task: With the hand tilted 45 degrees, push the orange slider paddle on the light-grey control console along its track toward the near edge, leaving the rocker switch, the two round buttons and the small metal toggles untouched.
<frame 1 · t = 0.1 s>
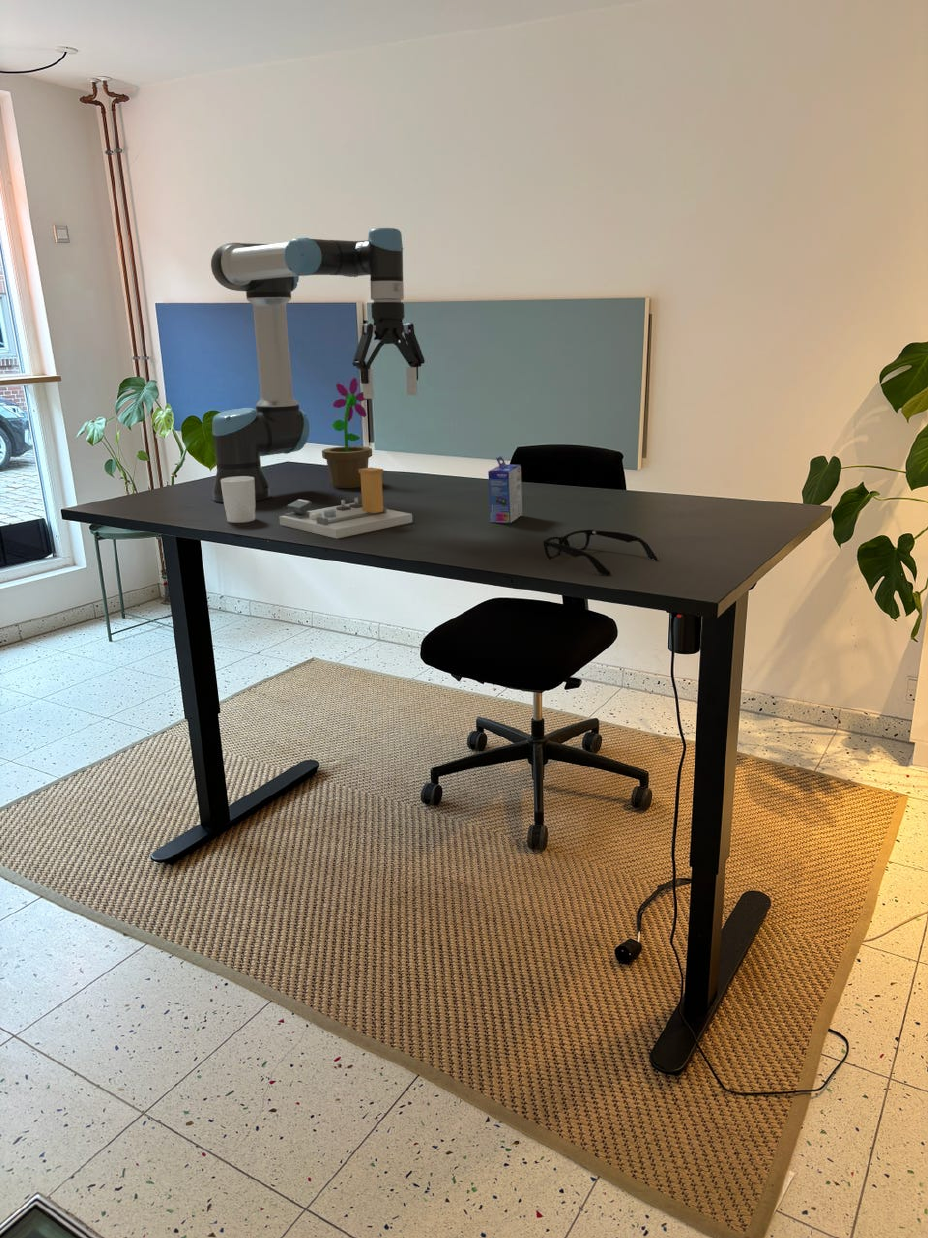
hand: (390, 396, 216), 28 cm above the table, fingers open, 13 cm apart
flowerpot: (349, 485, 267), on the table
glasses: (596, 563, 178), on the table
white cup: (241, 520, 221), on the table
console: (346, 523, 215), on the table
rocker: (300, 505, 214), point 4 cm above the table, hinge at 15.0°
ink cartridge box: (505, 519, 216), on the table
slider paddle: (371, 490, 213), point 8 cm above the table, slide at 0.0 cm
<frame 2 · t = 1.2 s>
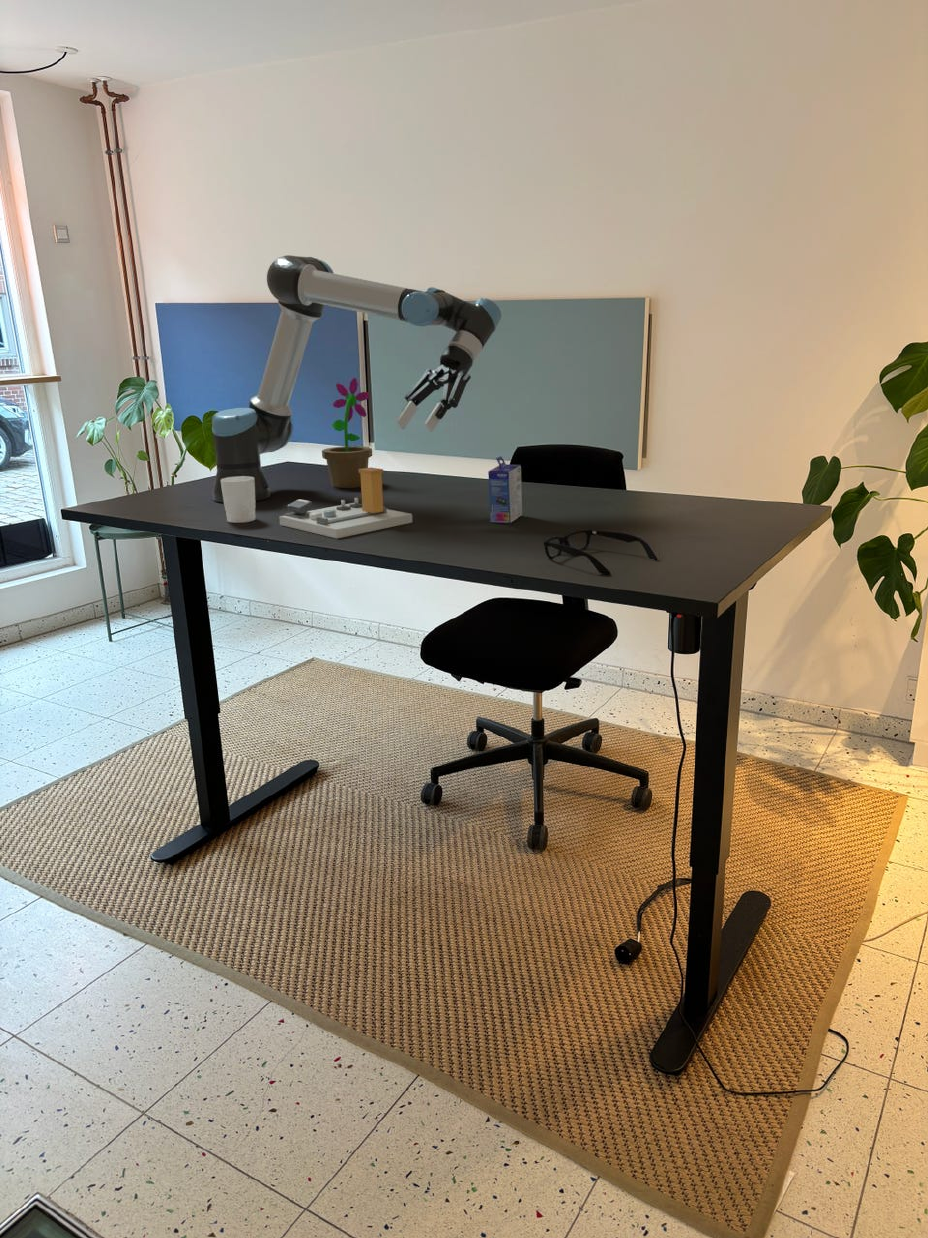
hand: (414, 426, 218), 21 cm above the table, fingers open, 9 cm apart
nothing on the table moved.
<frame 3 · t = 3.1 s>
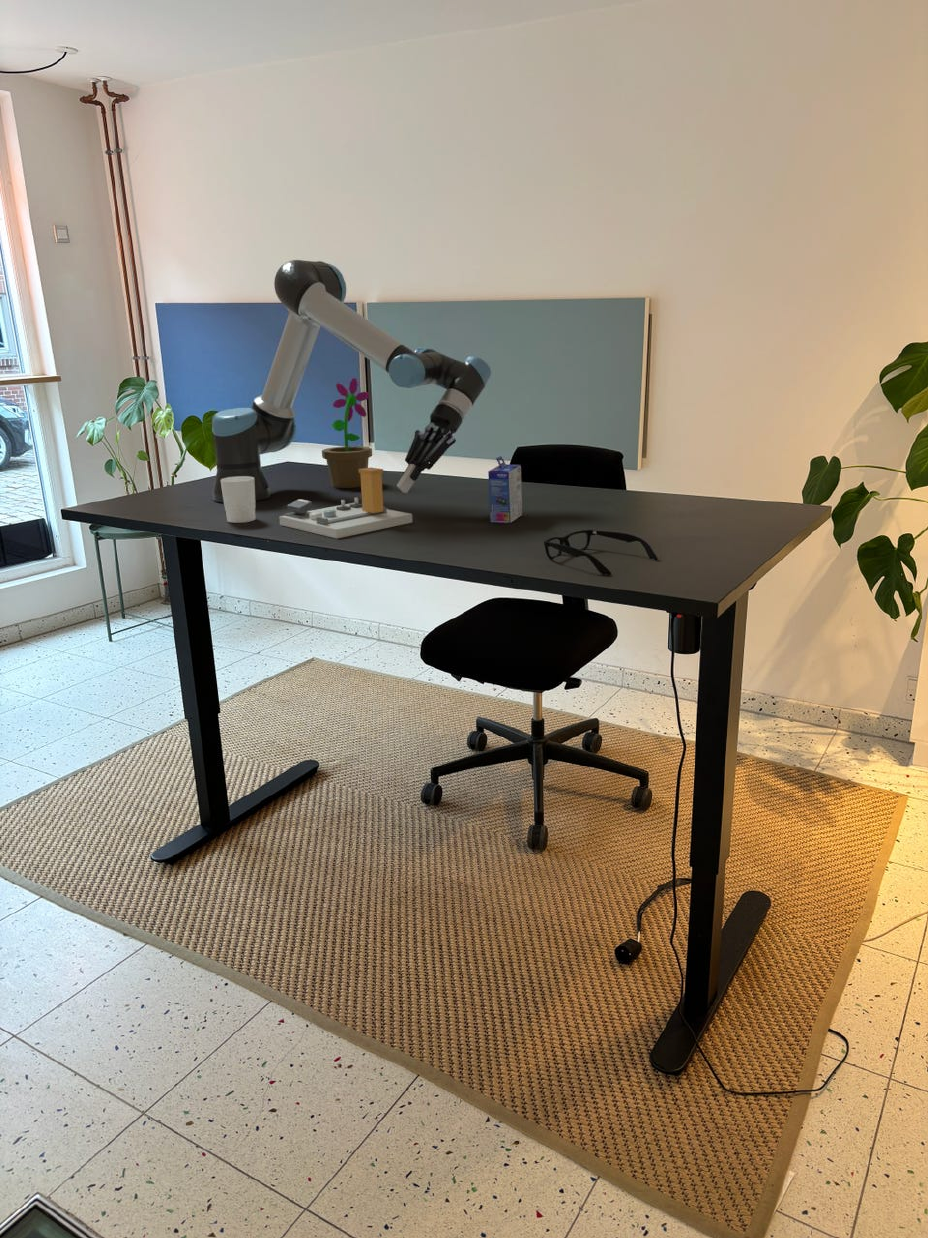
hand: (401, 489, 219), 7 cm above the table, fingers closed
nothing on the table moved.
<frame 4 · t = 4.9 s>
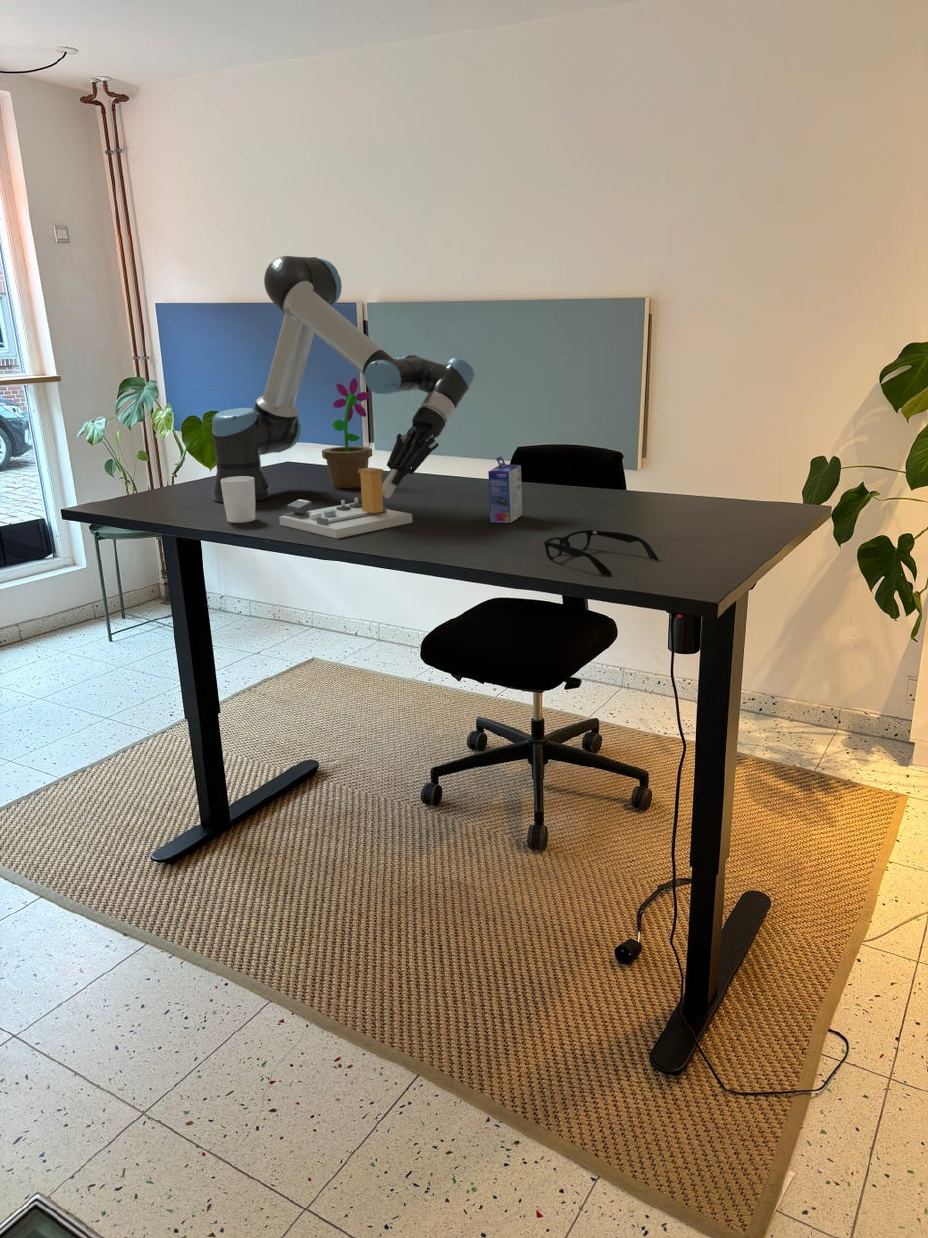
hand: (383, 494, 215), 6 cm above the table, fingers closed
slider paddle: (371, 490, 213), point 8 cm above the table, slide at 0.0 cm, touching gripper
everything else where it was.
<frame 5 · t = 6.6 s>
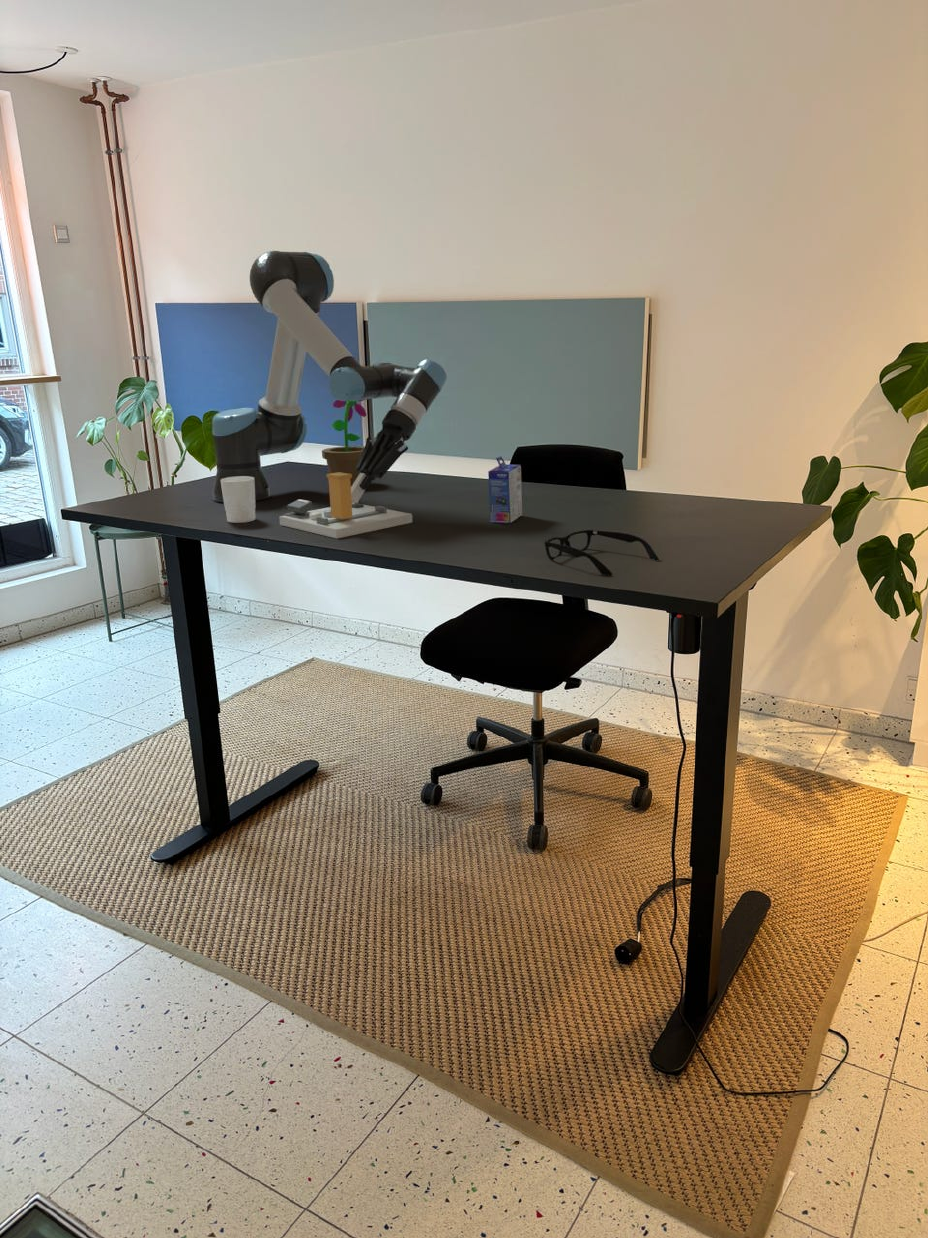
hand: (351, 499, 209), 6 cm above the table, fingers closed
slider paddle: (340, 495, 207), point 8 cm above the table, slide at 9.1 cm, touching gripper
everything else where it was.
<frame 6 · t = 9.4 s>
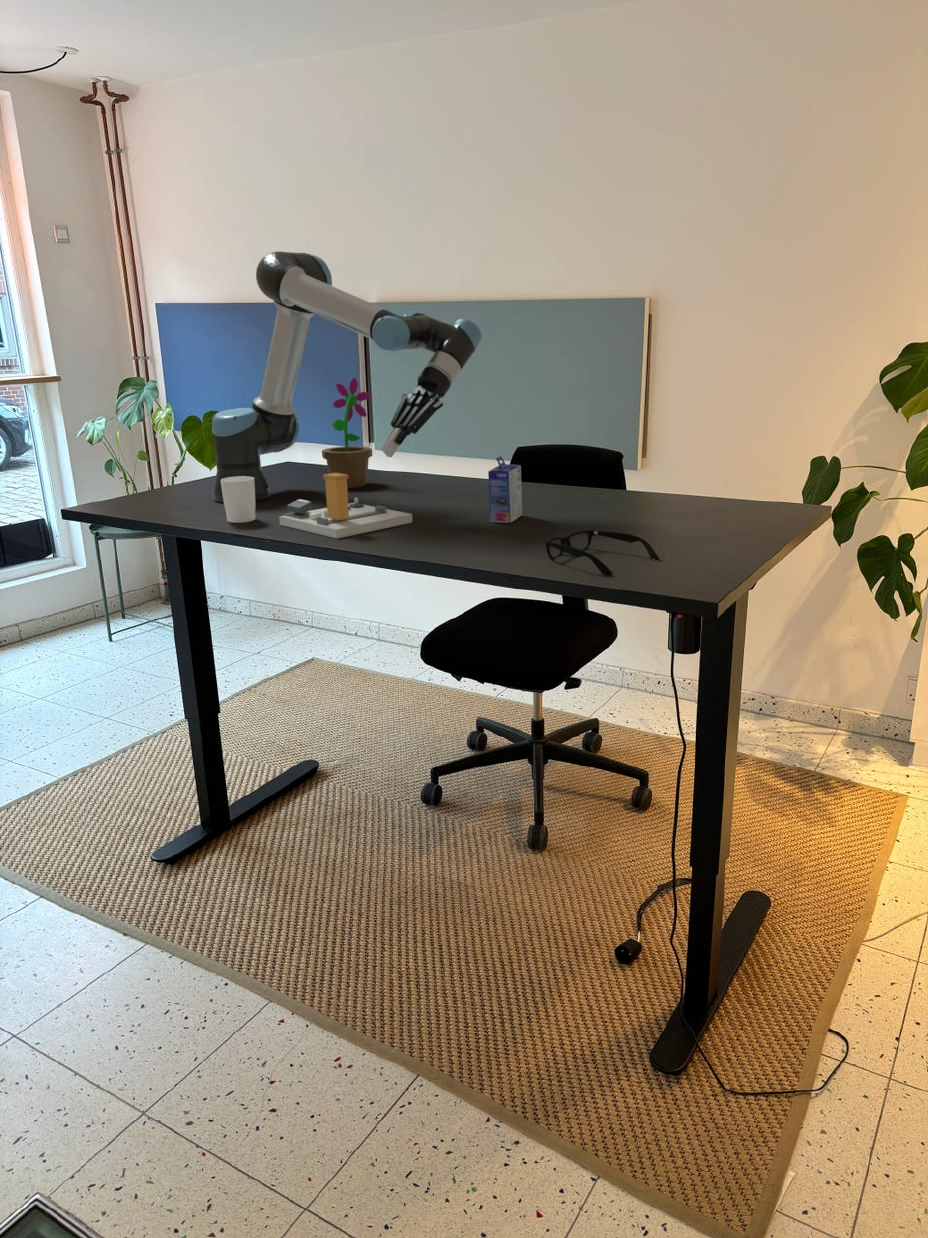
hand: (386, 453, 213), 16 cm above the table, fingers closed
slider paddle: (337, 496, 206), point 8 cm above the table, slide at 10.0 cm
everything else where it was.
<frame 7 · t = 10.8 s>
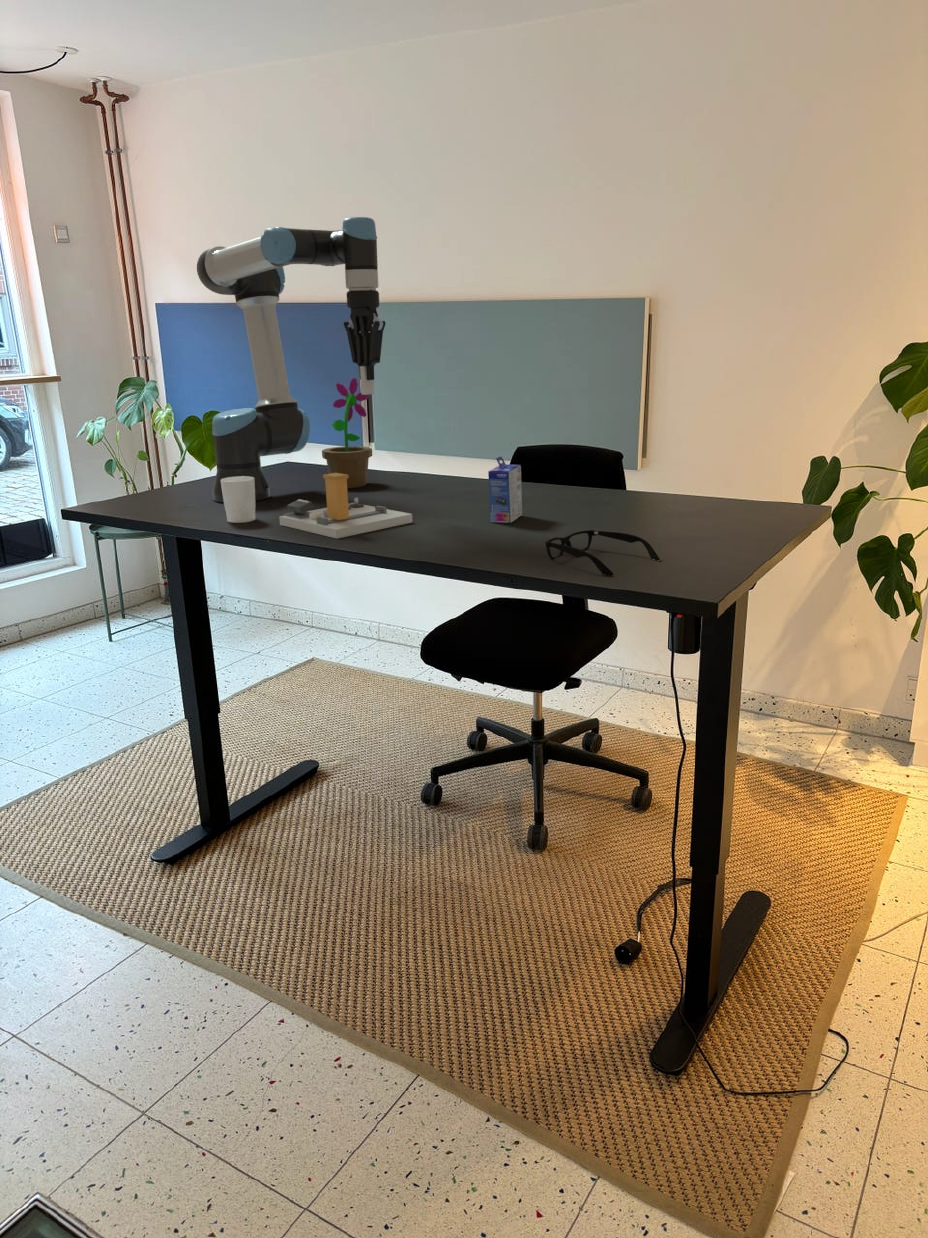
hand: (367, 394, 220), 28 cm above the table, fingers closed
nothing on the table moved.
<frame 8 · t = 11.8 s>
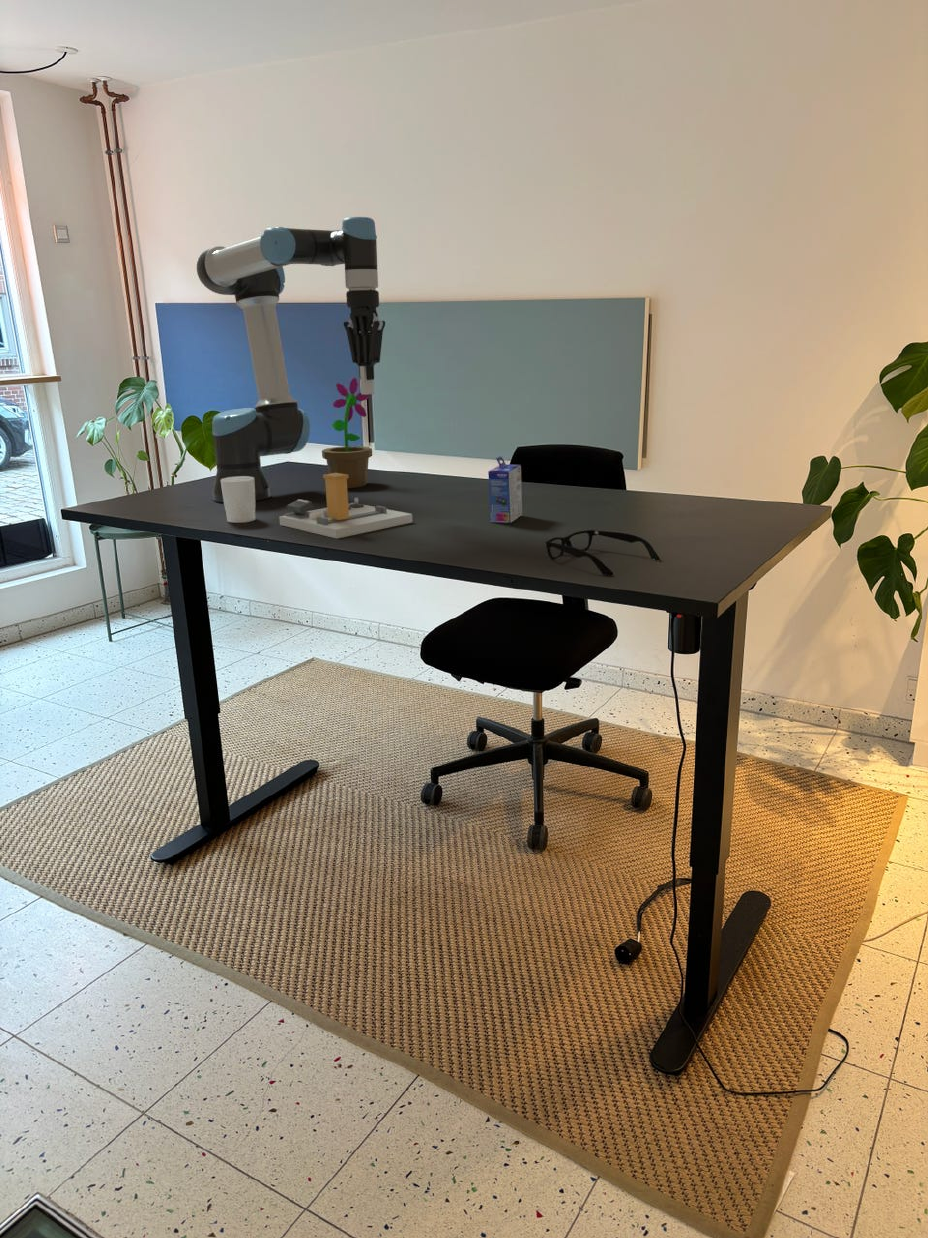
hand: (367, 393, 220), 28 cm above the table, fingers closed
nothing on the table moved.
at the end: slider paddle slide at 10.0 cm; rocker at +15° (first picture: +15°) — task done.
